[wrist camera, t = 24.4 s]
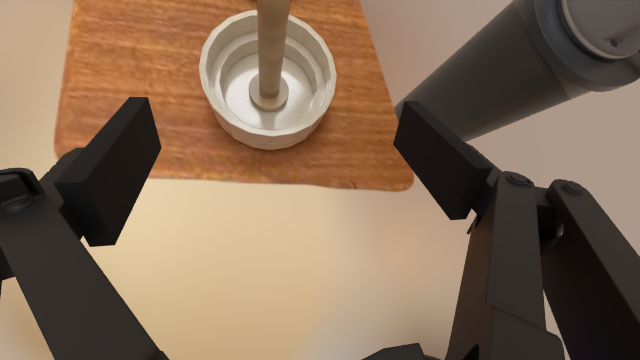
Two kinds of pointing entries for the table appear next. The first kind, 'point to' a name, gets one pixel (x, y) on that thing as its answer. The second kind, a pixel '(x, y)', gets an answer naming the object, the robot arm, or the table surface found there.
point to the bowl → (242, 65)
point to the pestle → (270, 56)
